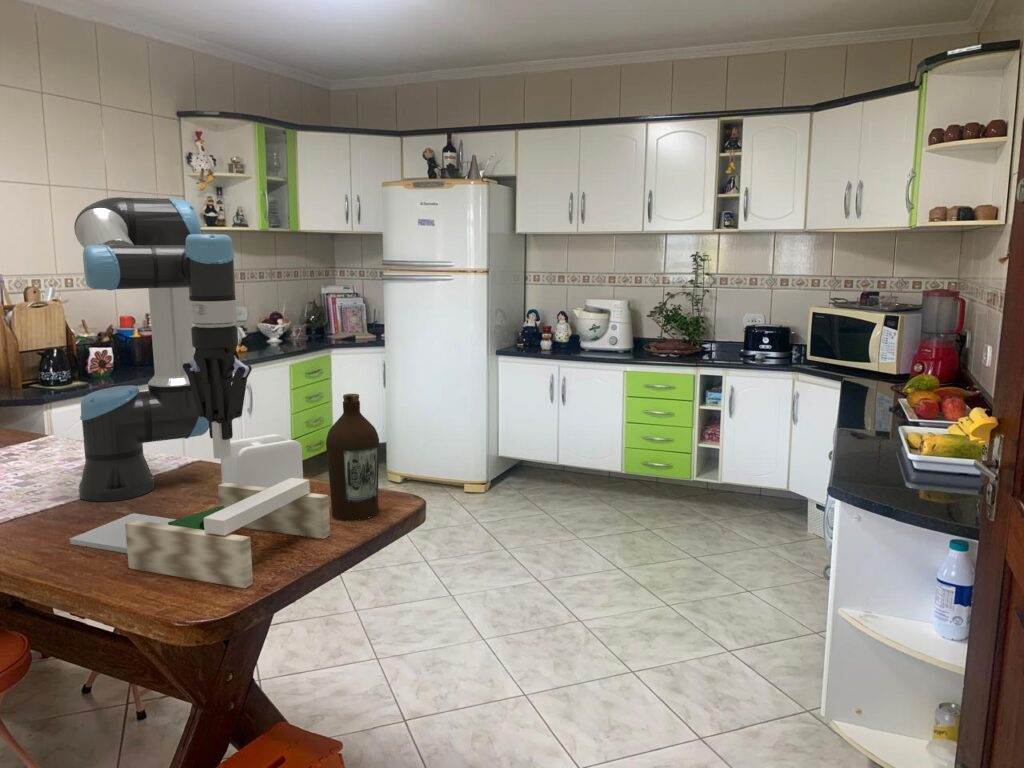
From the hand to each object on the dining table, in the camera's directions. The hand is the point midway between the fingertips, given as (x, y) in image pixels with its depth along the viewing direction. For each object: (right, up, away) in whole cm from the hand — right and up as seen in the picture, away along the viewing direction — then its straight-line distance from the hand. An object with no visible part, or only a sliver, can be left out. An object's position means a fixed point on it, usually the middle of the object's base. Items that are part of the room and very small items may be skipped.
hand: (222, 456), depth 139 cm
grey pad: (-21, -16, +10) cm, 28 cm away
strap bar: (+7, -10, -1) cm, 12 cm away
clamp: (-5, -17, +5) cm, 18 cm away
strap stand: (+1, -17, +2) cm, 18 cm away
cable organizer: (-5, -11, +38) cm, 40 cm away
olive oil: (+19, -14, +22) cm, 33 cm away
